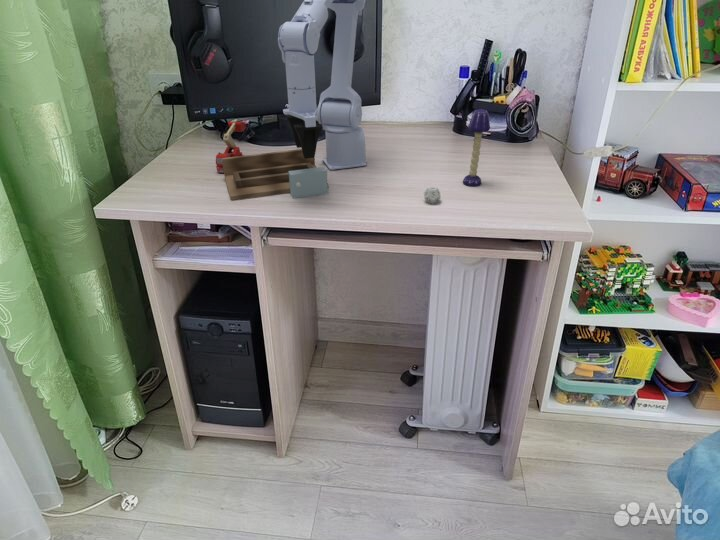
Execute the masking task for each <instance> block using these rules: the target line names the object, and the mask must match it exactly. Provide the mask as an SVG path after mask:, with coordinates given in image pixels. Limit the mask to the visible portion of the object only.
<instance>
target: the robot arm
mask: <svg viewBox="0 0 720 540" xmlns="http://www.w3.org/2000/svg"><path fill="white" fill-rule="evenodd" d="M365 3H366V0H303V1H302V3H301V5H300V6H299V8H298V9H297V11H296V12H295V14H294V15H293V16H292V18H291V20H290V21H285V22H284V23H283V24H281V25H280V26H279V28H278V29H279V30H278V36H277V37H278V38H277V43H278V44H277V45H278V48H279V50H280V52H281V61H282V62H283V63H284V65H285V77H286V89H287V101H288V108H284V109H282V112H283V114H284V115H285V117H286V120H287V121H288V124H289V126H290V128H291V131H292V135H293V140H294V144H295V146H296V148H297V149H302V152H303V156H304V158H305V159H307V158H314V157H316V151H317V145H318V140H319V137H320V134H321V132H322V131H324V132H325V133H324V134H325V148H326V150H325V151H326V154H325V155H326V157H324V158H322V162H323V163H324V164H325V166H326V167H327V168H328V170H329V171H335V170H342V169H351V168H357V167H365V166H367V163H366V136H365V131H364V129H363V128H362V126H361V122H362V119H363V110H362V98H361V96H360V95H359V94H358V92H357V91H355V89H354V88H352V81H353V69H354V60H355V48H356V37H357V28H358V27H357V24H358V17H359V13H360V12H361V11H362V10H363V9H364V8H365ZM328 9H330V10H332V11H334V13H335V16H336V18H335V29H334V40H333V42H334V43H333V53H332V63H331V65H332V66H331V78H330V86H328V88H326V89H325V90H323V91H322V92H321V93H320V95H319V100H318V101H319V102H318V105H317V92H316V91H317V90H316V70H315V66H316V65H315V53H316V52H317V51H318V47H319V41H320V38H321V33H320V32H321V31H322V29H323V27H324V26H325V24H326V22H327V20H328V18H329V12H328ZM316 119H317V121H316ZM316 122H318V123H316Z"/></svg>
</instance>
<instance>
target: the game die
mask: <svg viewBox="0 0 720 540" xmlns="http://www.w3.org/2000/svg"><path fill="white" fill-rule="evenodd" d="M423 198H424V200H425V202H426V203H428V204H431V205H433V204H436V203H438V202H439V200H440V199H441V192H440V189H439V188H438V187H435V186H430V187H427V188H426V189H425V191H424V192H423Z"/></svg>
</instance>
